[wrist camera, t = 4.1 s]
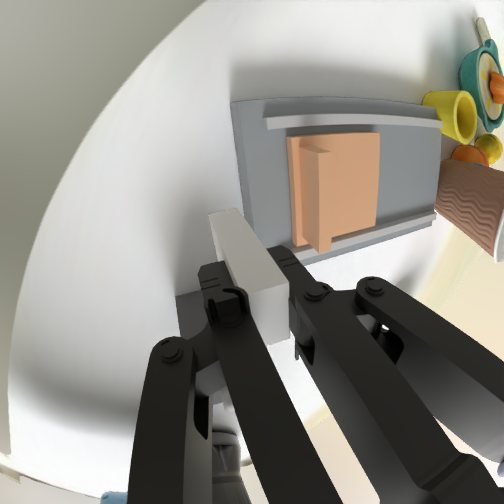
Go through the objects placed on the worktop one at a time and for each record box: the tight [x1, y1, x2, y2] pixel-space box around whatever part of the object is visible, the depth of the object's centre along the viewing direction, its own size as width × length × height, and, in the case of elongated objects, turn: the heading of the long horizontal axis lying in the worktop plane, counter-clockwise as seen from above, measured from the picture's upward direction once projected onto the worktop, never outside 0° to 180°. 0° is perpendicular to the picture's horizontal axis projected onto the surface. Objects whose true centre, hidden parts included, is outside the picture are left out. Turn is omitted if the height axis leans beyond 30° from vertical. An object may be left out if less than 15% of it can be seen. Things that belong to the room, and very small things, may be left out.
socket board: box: [230, 97, 444, 266], centre depth 22 cm, size 22×14×3 cm, turn 97°
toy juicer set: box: [422, 18, 504, 167], centre depth 20 cm, size 29×18×8 cm, turn 139°
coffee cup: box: [434, 159, 504, 264], centre depth 23 cm, size 10×10×12 cm
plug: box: [175, 290, 235, 411], centre depth 21 cm, size 5×5×11 cm
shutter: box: [286, 131, 380, 253], centre depth 19 cm, size 8×8×3 cm
